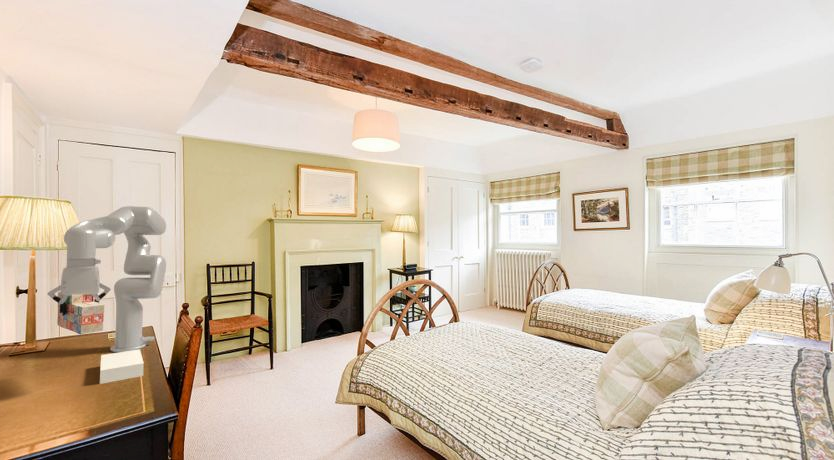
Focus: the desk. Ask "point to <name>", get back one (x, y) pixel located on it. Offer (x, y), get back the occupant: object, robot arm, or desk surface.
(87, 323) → the stack of blocks
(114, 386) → the desk surface
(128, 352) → the block
